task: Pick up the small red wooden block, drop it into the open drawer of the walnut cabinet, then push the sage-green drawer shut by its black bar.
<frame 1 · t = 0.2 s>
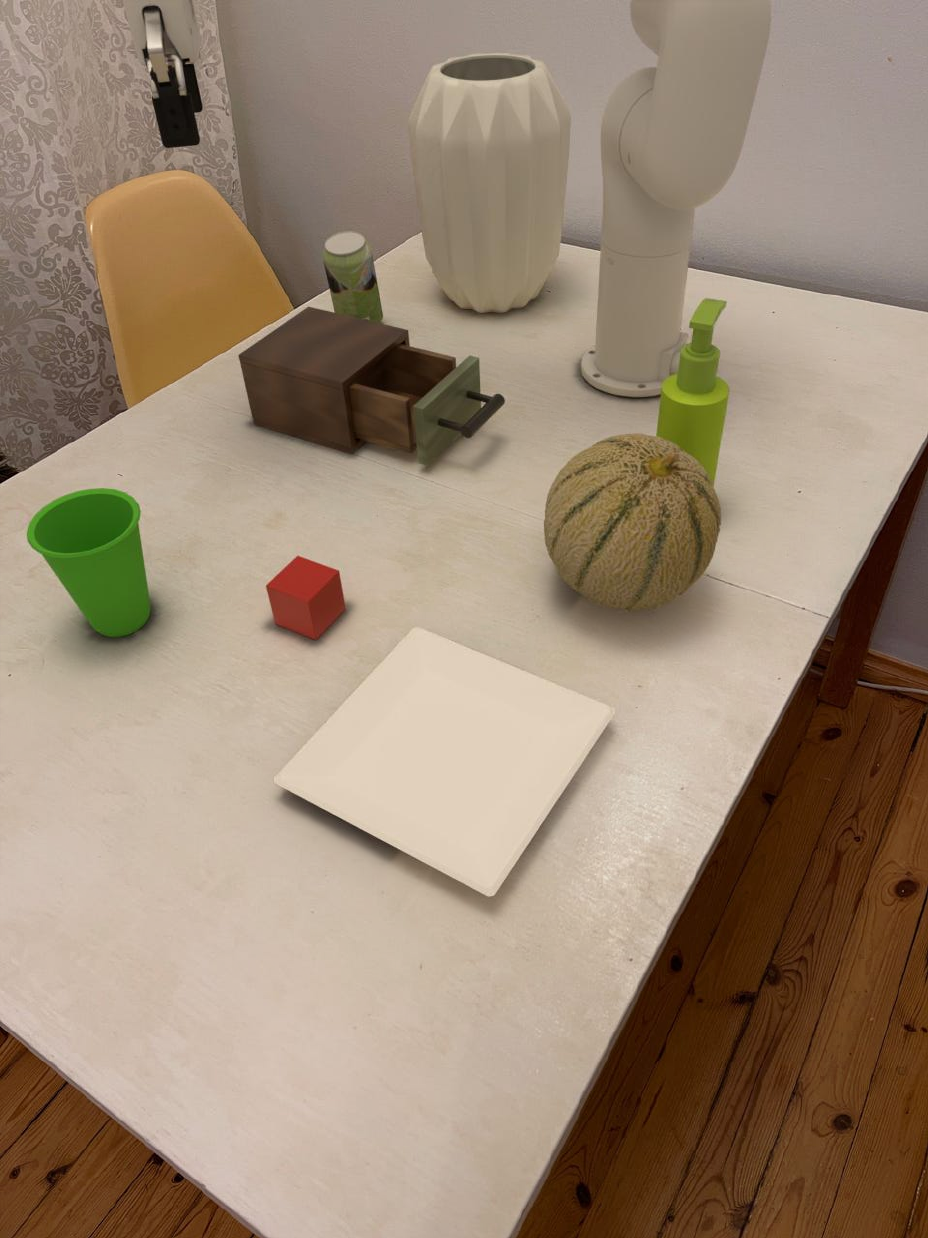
hand: (184, 128, 88), 31 cm above the table, tool pointing down, fingers open, 9 cm apart
drawer: (420, 402, 103), point 4 cm above the table, slide at 8.0 cm
vase: (493, 295, 130), on the table
cup: (122, 619, 86), on the table
soap dispenser: (680, 505, 95), on the table
cantaloupe: (624, 589, 86), on the table
block: (310, 616, 85), on the table
cabinet: (335, 411, 110), on the table
plate: (449, 761, 73), on the table
beverage can: (359, 330, 125), on the table
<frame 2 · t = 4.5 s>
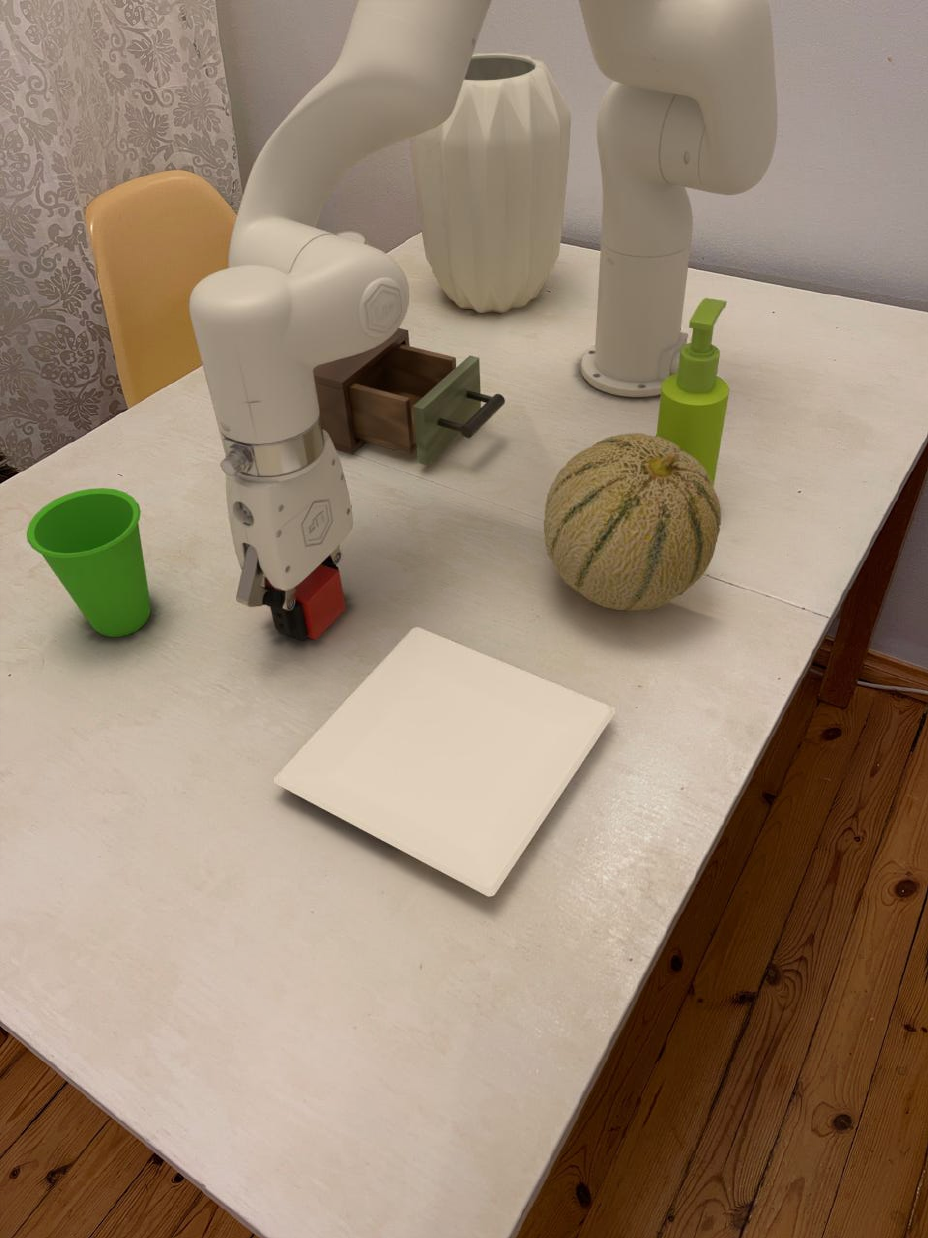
hand: (310, 613, 85), 0 cm above the table, tool pointing down, fingers closed on block, 4 cm apart
block: (310, 616, 85), on the table, touching gripper
everything else where it was.
when the fingers open (8 cm above the table, at t = 10.4 s): block drops 6 cm, resting on drawer.
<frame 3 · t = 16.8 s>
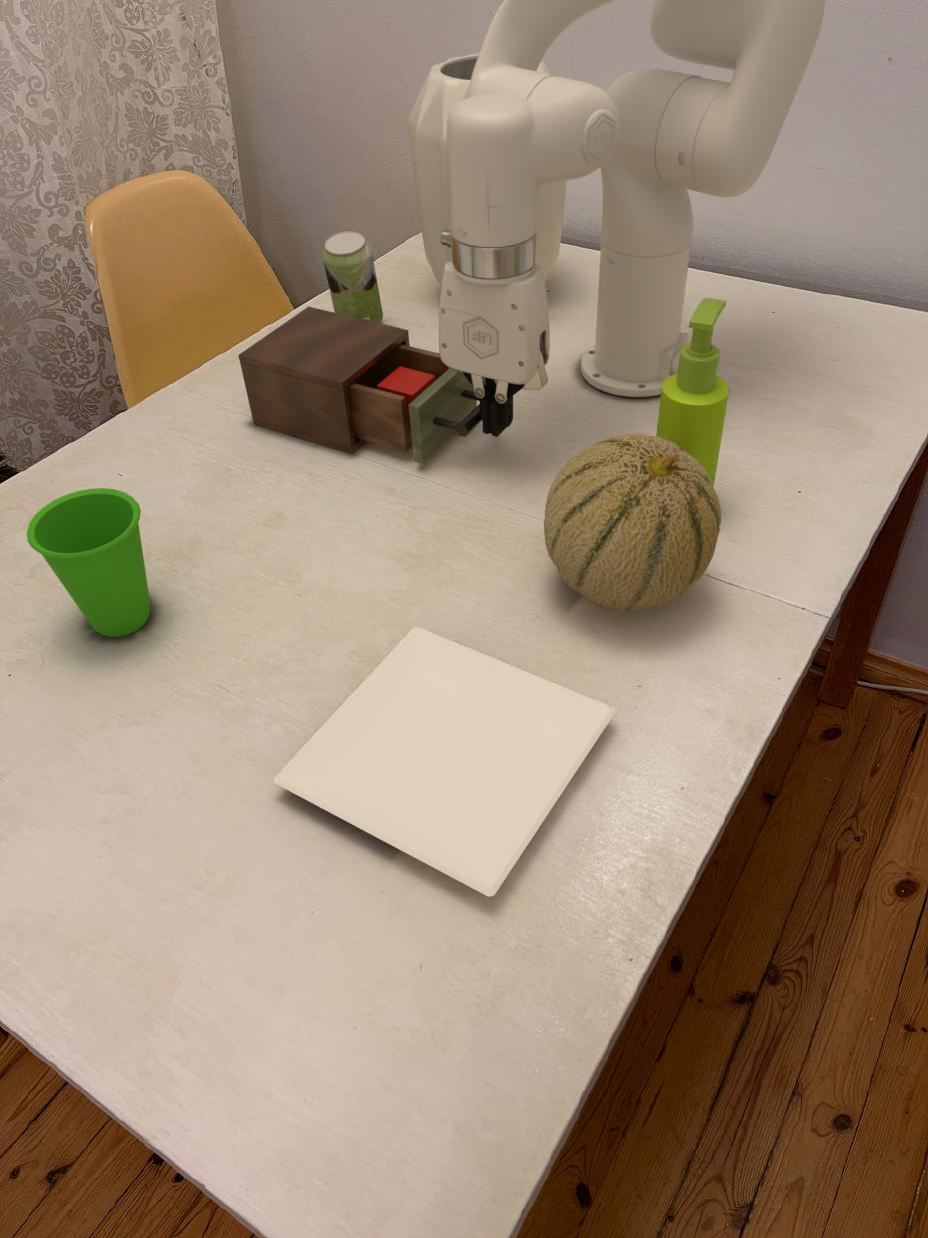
hand: (496, 428, 99), 4 cm above the table, tool pointing down, fingers closed
drawer: (416, 401, 103), point 4 cm above the table, slide at 7.5 cm, touching block, gripper
block: (409, 417, 105), point 2 cm above the table, touching drawer
everything else where it was.
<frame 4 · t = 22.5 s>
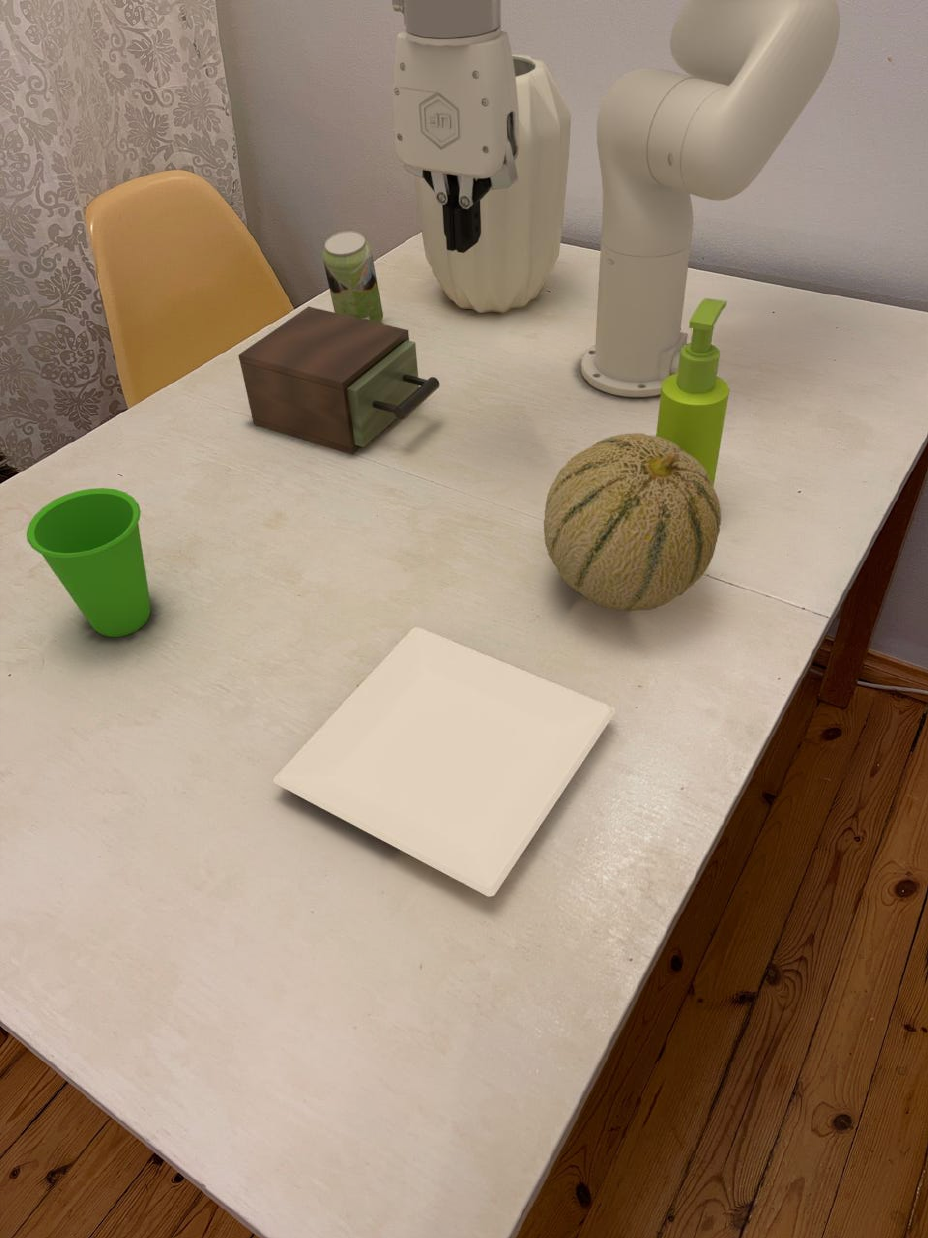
hand: (463, 245, 88), 22 cm above the table, tool pointing down, fingers closed
drawer: (358, 385, 106), point 4 cm above the table, slide at 0.0 cm, touching block, cabinet
block: (352, 401, 108), point 2 cm above the table, touching drawer
everything else where it was.
at the end: block inside the target area in the cabinet (2.7 cm from its centre), point 2.0 cm above the cabinet's base; drawer slide at 0.0 cm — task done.
